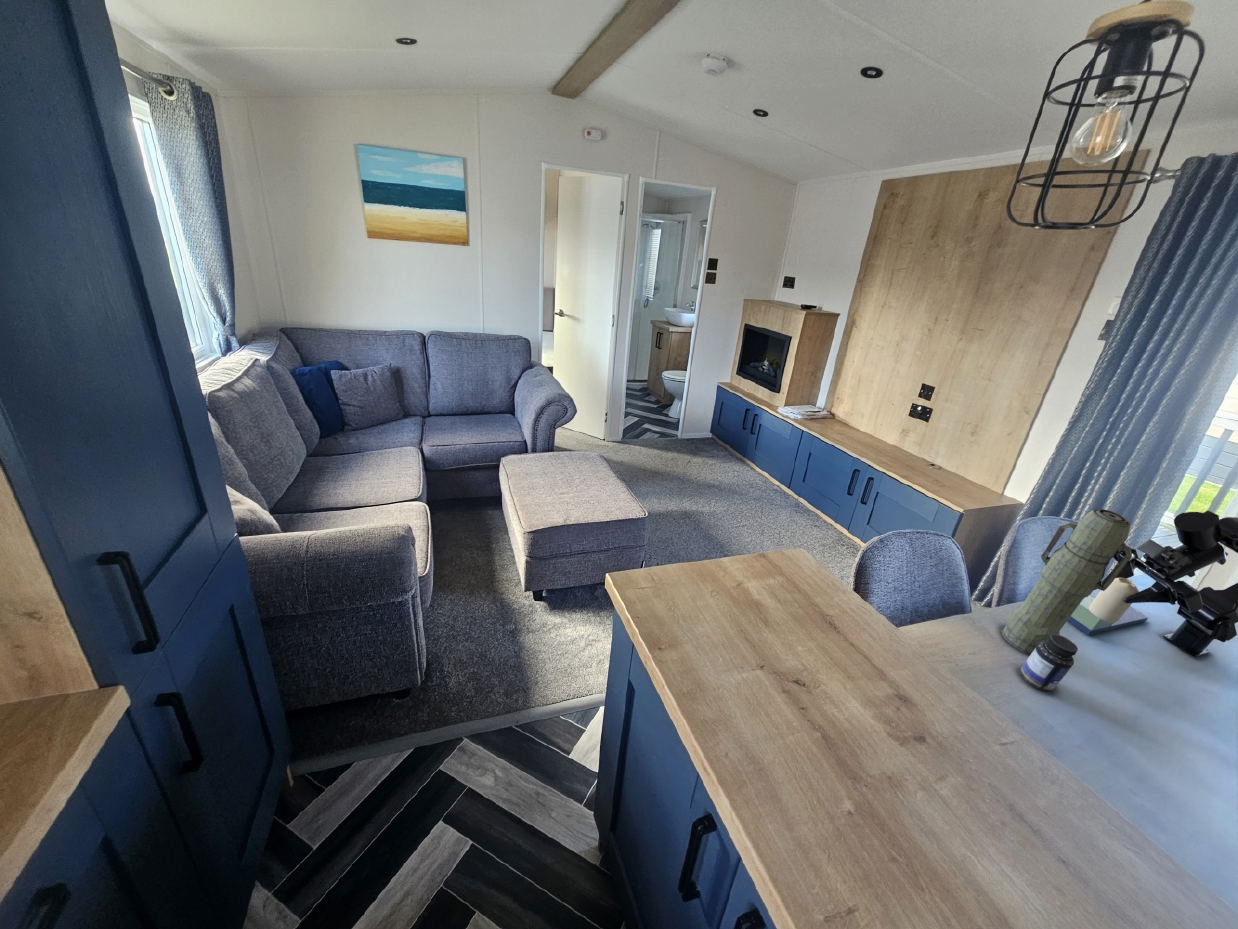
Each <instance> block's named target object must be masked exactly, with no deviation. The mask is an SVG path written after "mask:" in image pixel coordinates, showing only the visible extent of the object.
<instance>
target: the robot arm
mask: <svg viewBox="0 0 1238 929" xmlns="http://www.w3.org/2000/svg"><path fill="white" fill-rule="evenodd" d="M1173 525H1174V528H1175V532H1176V534H1177V538H1178V541H1179V542H1180V543H1181V544H1178V545H1176V546H1174V547H1173V546H1171V545H1165V546H1162V545H1161V544H1159V543H1158V542H1156V541H1155V540H1154V539H1153V540H1152V539H1151V538H1148V539H1147V540H1146V541H1144V542H1142V543H1141V545H1139V546H1137V547H1136V548H1135V547H1133V546H1131V545H1130V544H1128V543H1127V542H1126V541H1125V542H1124V543H1126V544H1125V545H1126V546H1129V547H1130V548H1131V553H1132V556H1131V558H1130V560H1129V561H1128V562H1127V564H1126V565H1125V566H1124V568H1123V569H1122V570H1121V571H1120V573H1119V574H1118V575H1117V577H1116V578H1126V579H1130V578H1132V577H1134V576H1135V573H1134V571H1133V570H1134V569H1138V570H1140V571H1141V572H1142V573H1143V574H1145V575H1147V576H1148V577H1149V578H1151V579H1153V581H1154V582H1153V583H1152V585H1150V586H1149V587H1147V588H1145V589H1142V590H1141V591H1139V592H1138V593H1136V594H1133V595H1131V596H1129V597H1127V598H1126V599H1124V601H1125V603H1132V604H1144V603H1145V604H1146V603H1157V604H1158V603H1159V604H1161V603H1162V604H1170V605H1171V606H1175V605H1176V603H1177V605H1178V606H1179V607H1178V609H1177V611H1176V614H1177V615H1178V616H1180V617H1181V618H1183V619H1184V620H1183V621H1182V623H1181V624H1180V625H1179V626H1178V628H1176V629H1175V631H1174V632H1172V633H1168V634H1164V635H1163V638H1164V639H1165V640H1167V641H1169V642H1170V643H1172V644H1173V645H1175V646H1176V647H1178V648H1180V649H1181V650H1183V651H1184V652H1186V653H1188V654H1189V655H1191V656H1192V657H1195V658H1196V657H1199V656H1204V655H1207V654H1209V653H1210V650H1209V649H1207V647H1209V645H1210V644H1212V642H1214V641H1215V640H1216V641H1219V642H1221V643H1225V642H1226V641H1227V642H1228V641H1231V640H1233V639H1234V638H1235V637H1236V636H1238V633H1237V629H1236V628H1237V627H1236V624H1237V623H1238V581H1237V582H1235V583H1233V584H1231V585H1229V586H1227V587H1225V588H1223V589H1222V588H1221V589H1214V588H1212V587H1211V586H1205V587H1202V588H1201V589H1199V590H1198V589H1197V588H1195V587H1194V586H1192V585H1190V584H1189V583H1187V582H1185V581H1184V580H1181V579H1183V578H1184V577H1186V576H1187V577H1189V578H1193V577H1194V576H1196V572H1197V571H1199V570H1202V569H1204V568H1206V567H1208V566H1211V565H1212V564H1214V563H1217V564H1218V565H1221V566H1222V565H1225V563H1226V562H1227V557H1228V556H1229V553H1228V552H1227V551H1225V548H1228V549H1229V550H1230V551H1233V552H1235V553H1236V554H1238V517H1233V516H1226V517H1221V518H1220V515H1219V514H1217V513H1215V512H1213V511H1211V510H1206V511H1204V512H1202V511H1201V512H1200V511H1186V512H1181V513H1178V514H1177V515H1176V516H1175V517H1174V519H1173ZM1137 550H1138V551H1140V552H1142V553H1144V554H1142V557H1143V559H1144V560H1142V559H1141V558H1139V555H1138V552H1137ZM1125 555H1126V553H1125V551H1122V550H1121V551H1118V552H1117V553H1116V554H1115V556H1114V557H1113V558H1112V559H1114V560H1115V561H1116V562H1117V563H1116V565H1115V566H1114V567H1113V569H1111V571H1110V572H1109V573H1108V574H1107V575H1106V576H1105V578H1103V579H1102V580H1101V581H1102V582H1101V584H1102V585H1104V583H1105V581H1106V580H1107V579H1108V577H1109V576H1110V575H1111V573H1112V572H1113V571H1114V569H1115V568H1116V567H1117V565H1118V564H1119V563H1120V561H1121V560H1122V559H1123V557H1124V556H1125Z"/></svg>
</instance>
